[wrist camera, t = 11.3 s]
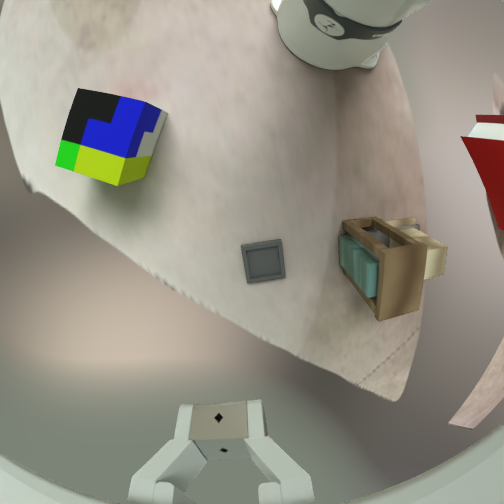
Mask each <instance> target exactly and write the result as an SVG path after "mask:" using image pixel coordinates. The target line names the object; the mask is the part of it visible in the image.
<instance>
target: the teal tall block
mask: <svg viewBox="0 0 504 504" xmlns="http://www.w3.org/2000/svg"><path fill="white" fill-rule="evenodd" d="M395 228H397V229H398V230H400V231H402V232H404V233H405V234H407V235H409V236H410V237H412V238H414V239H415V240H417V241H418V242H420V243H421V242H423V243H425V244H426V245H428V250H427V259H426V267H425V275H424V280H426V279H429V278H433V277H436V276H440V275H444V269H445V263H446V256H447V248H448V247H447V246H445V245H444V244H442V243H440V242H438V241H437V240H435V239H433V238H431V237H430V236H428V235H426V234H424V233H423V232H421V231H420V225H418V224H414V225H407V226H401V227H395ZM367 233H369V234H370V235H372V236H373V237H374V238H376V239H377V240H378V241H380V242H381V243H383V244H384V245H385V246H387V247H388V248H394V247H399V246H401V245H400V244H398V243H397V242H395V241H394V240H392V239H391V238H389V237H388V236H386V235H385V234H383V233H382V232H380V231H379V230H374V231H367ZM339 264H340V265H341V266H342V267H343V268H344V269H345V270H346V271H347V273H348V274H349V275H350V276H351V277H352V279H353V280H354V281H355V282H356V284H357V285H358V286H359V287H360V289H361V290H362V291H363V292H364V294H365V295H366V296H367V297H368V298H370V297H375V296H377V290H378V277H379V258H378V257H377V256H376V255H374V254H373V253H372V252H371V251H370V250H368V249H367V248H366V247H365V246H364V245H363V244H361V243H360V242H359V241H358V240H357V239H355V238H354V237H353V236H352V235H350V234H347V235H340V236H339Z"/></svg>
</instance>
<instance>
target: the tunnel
mask: <svg viewBox="0 0 504 504" xmlns="http://www.w3.org/2000/svg"><path fill="white" fill-rule="evenodd" d="M342 222H343V229H344V230H346V231H347V232H348V233H349V234H350V235H352V236H353V237H354V238H355V239H357V240H358V241H359V242H360V243H361V244H363V245H364V246H365V247H366V248H367V249H368V250H370V251H371V252H372V253H373V254H374V255H376V256H377V257H378V258H379V259H380V260H379V277H378V290H377V296H375V297H370V298H368V297H367V296H366V295H365V294H364V292H363V291H362V290H361V289H360V287H359V286H358V285H357V284H356V282H355V281H354V280H353V279H352V277H351V276H350V275H349V274H348V273H347V271H346V270H345V269H344V274H345V275H346V277H347V278H348V279H349V280H350V282H351V283H352V284H353V285H354V287H355V288H356V289H357V291H358V292H359V293H360V294H361V296H362V297H363V298H364V300H365V301H366V302H367V304H368V305H369V306H370V308H371V309H372V310H373V312H374V313H375V317H376V319H377V320H378V321H382V320H386V319H390V318H393V317H397V316H400V315H404V314H407V313H410V312H414V311H417V310H419V305H420V299H421V294H422V288H423V281H424V275H425V267H426V259H427V250H428V245H426V244H425V243H423V242H421V243H420V242H418V241H417V240H415V239H414V238H412V237H410V236H409V235H407V234H405V233H404V232H402V231H400V230H398V229H397V228H395V227H393V226H392V225H390V224H388V223H386V222H384V221H383V220H381V219H379V218H377V217H368V218H361V219H353V220H346V221H342ZM370 226H373V227H374V228H376V229H377V230H379V231H380V232H382V233H383V234H385V235H386V236H388V237H389V238H391V239H392V240H394V241H395V242H397V243H398V244H400V245H401V246H399V247H394V248H388V247H387V246H385V245H384V244H383V243H381V242H380V241H378V240H377V239H376V238H374V237H373V236H372V235H370V234H369V233H367V232H366V231H365V230H363V229H362V228H363V227H370Z"/></svg>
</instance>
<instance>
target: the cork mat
mask: <svg viewBox="0 0 504 504" xmlns="http://www.w3.org/2000/svg"><path fill="white" fill-rule="evenodd" d="M384 222H386V223H388V224H390V225H392V226H393V227H401V226H407V225H414V224H416V217H413V218H406V219H398V220H391V221H384Z"/></svg>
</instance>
